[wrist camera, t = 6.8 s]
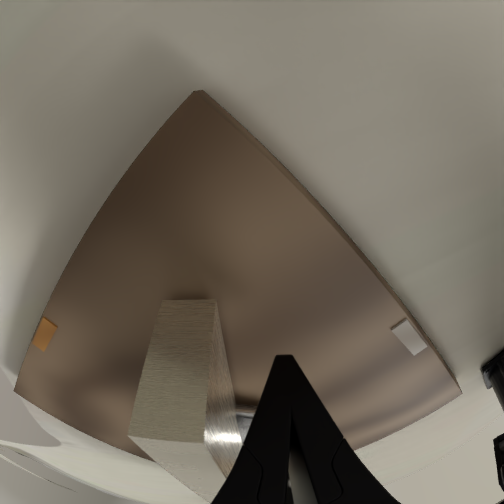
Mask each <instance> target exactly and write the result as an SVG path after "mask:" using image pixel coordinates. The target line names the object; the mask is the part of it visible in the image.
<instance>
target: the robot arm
mask: <svg viewBox="0 0 504 504" xmlns="http://www.w3.org/2000/svg"><path fill="white" fill-rule="evenodd" d="M481 372H482V375H483V378H484V381H485V385H486V387H487V389H490V388H491V387H493V389H494V391H495V393H496V396H497V398H498V400H499V402H500V404H501V406H502V409H503V411H504V351H503V352H502V353H501V354H500V355H498V356H497V357H496V358H495V359H493V360H492V361H491V362H490V363H488V364H487V365H486V366H485V367H483V368H482V370H481ZM493 442H494V451H495V458H496V464H497V472H498V480H499V485H500V486H501V488H502V490H503V491H504V433H503V434H501V435H499V436H497V438H495V439H494V440H493ZM288 471H289V477H290V483H291V489H292V495H293V501H294V504H401V503H400V502H398V501H397V500H396V499H395V498H394V497H393V496H391V494H390V493H389V492H388V491H387V490H386V489H385V488H384V487H383V486H382V485H381V484H380V482H379V481H378V480H377V479H376V478H375V477H374V476H373V475H372V474H371V472H370V471H369V470H368V469H367V468H366V467H365V465H364V464H363V463H362V462H361V460H360V459H359V458H358V456H357V455H356V454H355V452H354V451H353V449H352V448H351V446H350V445H349V443H348V442H347V440H346V439H345V438H344V436H343V434H342V433H341V431H340V429H339V428H338V426H337V425H336V423H335V422H334V420H333V418H332V417H331V415H330V414H329V412H328V411H327V409H326V407H325V406H324V404H323V403H322V401H321V399H320V398H319V396H318V395H317V393H316V392H315V390H314V388H313V387H312V385H311V384H310V382H309V380H308V379H307V377H306V375H305V374H304V372H303V371H302V369H301V367H300V366H299V364H298V363H297V361H296V359H295V358H294V356H293V355H291V354H281V355H276V356H275V358H274V361H273V364H272V367H271V369H270V372H269V375H268V378H267V381H266V384H265V386H264V389H263V392H262V395H261V397H260V400H259V403H258V406H257V408H256V411H255V414H254V416H253V419H252V422H251V424H250V427H249V429H248V432H247V434H246V437H245V440H244V442H243V445H242V447H241V449H240V452H239V454H238V457H237V459H236V461H235V463H234V465H233V468H232V470H231V471H230V473H229V475H228V477H227V478H226V480H225V482H224V484H223V485H222V487H221V488H220V490H219V492H218V493H217V495H216V496H215V498H214V499H213V501H212V502H211V504H285V503H286V492H287V481H288ZM496 504H504V499H503V500H501V501H500V502H498V503H496Z"/></svg>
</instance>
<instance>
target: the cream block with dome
mask: <svg viewBox="0 0 504 504" xmlns="http://www.w3.org/2000/svg"><path fill="white" fill-rule="evenodd" d="M256 408H257V406H253V405H245V404H236V402H235V397H234V392H233V387H232V382H231V377H230V372H229V367H228V362H227V357H226V351H225V346H224V341H223V335H222V330H221V324H220V318H219V313H218V307H217V301H216V299H196V300H162V303H161V306H160V310H159V313H158V316H157V320H156V323H155V327H154V330H153V333H152V337H151V341H150V344H149V348H148V352H147V355H146V359H145V363H144V367H143V371H142V374H141V378H140V382H139V386H138V391H137V395H136V399H135V403H134V408H133V412H132V417H131V421H130V426H129V431H128V435H127V436H128V437H129V438H130V439H131V440H133V441H134V442H135V443H136V444H137V445H138V446H139V447H140V448H141V449H142V450H143V451H144V452H145V453H147V454H148V455H149V456H150V457H151V458H152V459H153V460H154V461H156V462H157V463H158V464H159V465H160V466H161V467H163V468H164V469H165V470H166V471H168V472H169V473H170V474H171V475H172V476H174V477H175V478H176V479H178V480H179V481H180V482H181V483H183V484H184V485H185V486H187V487H188V488H189V489H191V490H192V491H194V492H195V493H196V494H198V495H199V496H201V497H202V498H203V499H205V500H206V501H208V502H209V503H211V502H212V501H213V499H214V498H215V496H216V495H217V493H218V492H219V490H220V488H221V487H222V485H223V484H224V482H225V480H226V478H227V477H228V475H229V473H230V471H231V470H232V468H233V465H234V463H235V461H236V459H237V457H238V454H239V452H240V449H241V447H242V445H243V442H244V440H245V437H246V434H247V432H248V429H249V427H250V424H251V422H252V419H253V416H254V414H255V411H256Z"/></svg>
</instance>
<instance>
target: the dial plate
mask: <svg viewBox="0 0 504 504" xmlns="http://www.w3.org/2000/svg"><path fill="white" fill-rule="evenodd" d="M196 299H216V301H217V307H218V313H219V318H220V324H221V330H222V335H223V341H224V346H225V351H226V357H227V362H228V367H229V372H230V377H231V382H232V387H233V392H234V397H235V402H236V404H245V405H253V406H258V403H259V400H260V397H261V395H262V392H263V389H264V386H265V384H266V381H267V378H268V375H269V372H270V369H271V367H272V364H273V361H274V358H275V356H276V355H281V354H291V355H293V356H294V358H295V359H296V361H297V363H298V364H299V366H300V367H301V369H302V371H303V372H304V374H305V375H306V377H307V379H308V380H309V382H310V384H311V385H312V387H313V388H314V390H315V392H316V393H317V395H318V396H319V398H320V399H321V401H322V403H323V404H324V406H325V407H326V409H327V411H328V412H329V414H330V415H331V417H332V418H333V420H334V422H335V423H336V425H337V426H338V428H339V429H340V431H341V433H342V434H343V436H344V438H345V439H346V440H347V442H348V443H349V445H350V446H351V448H352V449H353V451H354V450H356V449H359V448H361V447H364V446H366V445H368V444H371V443H373V442H375V441H378V440H380V439H382V438H384V437H386V436H389V435H391V434H393V433H395V432H397V431H399V430H401V429H403V428H405V427H407V426H409V425H411V424H413V423H414V422H416V421H418V420H420V419H422V418H424V417H425V416H427V415H429V414H431V413H432V412H434V411H436V410H437V409H439V408H441V407H442V406H444V405H446V404H447V403H449V402H450V401H452V400H454V399H455V398H457V397H458V396H460V395H461V394H463V393H462V391H461V389H460V387H459V385H458V382H457V380H456V378H455V377H454V375H453V374H452V372H451V371H450V369H449V368H448V366H447V365H446V363H445V362H444V360H443V359H442V357H441V356H440V354H439V353H438V351H437V350H436V348H435V347H434V345H433V344H432V343H431V341H430V340H429V338H428V337H427V335H426V334H425V333H424V331H423V330H422V328H421V327H420V326H419V324H418V323H417V322H416V320H415V319H414V317H413V316H412V315H411V313H410V312H409V311H408V309H407V308H406V307H405V305H404V304H403V303H402V301H401V300H400V299H399V297H398V296H397V295H396V294H395V292H394V291H393V290H392V288H391V287H390V286H389V285H388V283H387V282H386V281H385V280H384V278H383V277H382V276H381V275H380V273H379V272H378V271H377V270H376V268H375V267H374V266H373V265H372V263H371V262H370V261H369V260H368V259H367V257H366V256H365V255H364V254H363V253H362V251H361V250H360V249H359V248H358V247H357V246H356V244H355V243H354V242H353V241H352V240H351V238H350V237H349V236H348V235H347V234H346V233H345V232H344V230H343V229H342V228H341V227H340V226H339V225H338V224H337V222H336V221H335V220H334V219H333V218H332V217H331V216H330V215H329V214H328V212H327V211H326V210H325V209H324V208H323V207H322V206H321V205H320V204H319V203H318V201H317V200H316V199H315V198H314V197H313V196H312V195H311V194H310V193H309V192H308V191H307V190H306V189H305V188H304V186H303V185H302V184H301V183H300V182H299V181H298V180H297V179H296V178H295V177H294V176H293V175H292V174H291V173H290V172H289V171H288V170H287V169H286V168H285V167H284V166H283V165H282V164H281V163H280V162H279V161H278V160H277V159H276V158H275V157H274V156H273V155H272V154H271V153H270V152H269V151H268V150H267V149H266V148H265V147H264V146H263V145H262V144H261V143H260V142H259V141H258V140H257V139H256V138H255V137H254V136H253V135H252V134H251V133H250V132H248V131H247V130H246V129H245V128H244V127H243V126H242V125H241V124H240V123H239V122H238V121H237V120H236V119H235V118H233V117H232V116H231V115H230V114H229V113H228V112H227V111H226V110H225V109H224V108H222V107H221V106H220V105H219V104H218V103H217V102H216V101H215V100H213V99H212V98H211V97H210V96H209V95H208V94H207V93H205V92H204V91H203V90H198V91H194V92H193V93H192V94H191V95H190V96H189V97H188V98H187V99H186V100H185V101H184V102H183V103H182V104H181V105H180V107H179V108H178V109H177V110H176V111H175V112H174V113H173V114H172V116H171V117H170V118H169V119H168V120H167V121H166V122H165V124H164V125H163V126H162V127H161V128H160V129H159V131H158V132H157V133H156V134H155V135H154V137H153V138H152V139H151V140H150V142H149V143H148V144H147V145H146V147H145V148H144V149H143V150H142V152H141V153H140V154H139V155H138V157H137V158H136V159H135V161H134V162H133V163H132V165H131V166H130V167H129V169H128V170H127V171H126V173H125V174H124V175H123V177H122V178H121V180H120V181H119V182H118V184H117V185H116V187H115V188H114V190H113V191H112V192H111V194H110V195H109V197H108V198H107V200H106V201H105V203H104V204H103V206H102V207H101V209H100V210H99V212H98V213H97V215H96V217H95V218H94V220H93V221H92V223H91V224H90V226H89V228H88V229H87V231H86V233H85V234H84V236H83V238H82V239H81V241H80V243H79V244H78V246H77V248H76V250H75V251H74V253H73V255H72V257H71V258H70V260H69V262H68V264H67V266H66V268H65V270H64V271H63V273H62V275H61V277H60V279H59V281H58V283H57V285H56V287H55V289H54V291H53V293H52V295H51V297H50V299H49V301H48V303H47V306H46V308H45V310H44V312H43V314H42V317H41V319H40V321H39V323H38V326H37V328H36V330H35V333H34V335H33V338H32V340H31V343H30V345H29V348H28V350H27V353H26V356H25V358H24V361H23V364H22V367H21V370H20V373H19V376H18V379H17V382H16V385H15V388H14V392H16V393H17V394H19V395H20V396H22V397H23V398H25V399H26V400H28V401H29V402H31V403H32V404H34V405H35V406H37V407H39V408H40V409H42V410H43V411H45V412H47V413H48V414H50V415H52V416H54V417H55V418H57V419H59V420H61V421H62V422H64V423H66V424H68V425H70V426H72V427H74V428H76V429H77V430H79V431H81V432H83V433H85V434H88V435H90V436H92V437H94V438H96V439H98V440H100V441H103V442H105V443H107V444H109V445H112V446H114V447H116V448H119V449H121V450H124V451H126V452H129V453H131V454H134V455H137V456H139V457H142V458H145V459H148V460H151V461H154V460H153V459H152V458H151V457H150V456H149V455H148V454H147V453H145V452H144V451H143V450H142V449H141V448H140V447H139V446H138V445H137V444H136V443H135V442H134V441H133V440H131V439H130V438H129V437H128V436H127V435H128V431H129V426H130V421H131V417H132V412H133V408H134V403H135V399H136V395H137V391H138V386H139V382H140V378H141V374H142V371H143V367H144V363H145V359H146V355H147V352H148V348H149V344H150V341H151V337H152V333H153V330H154V327H155V323H156V320H157V316H158V313H159V310H160V306H161V303H162V300H196ZM154 462H156V461H154ZM288 472H289V471H288Z"/></svg>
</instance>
